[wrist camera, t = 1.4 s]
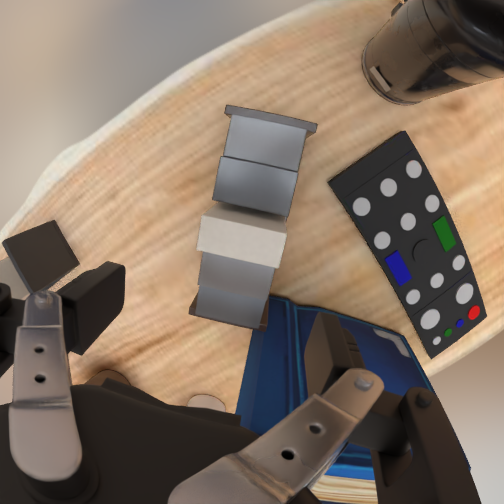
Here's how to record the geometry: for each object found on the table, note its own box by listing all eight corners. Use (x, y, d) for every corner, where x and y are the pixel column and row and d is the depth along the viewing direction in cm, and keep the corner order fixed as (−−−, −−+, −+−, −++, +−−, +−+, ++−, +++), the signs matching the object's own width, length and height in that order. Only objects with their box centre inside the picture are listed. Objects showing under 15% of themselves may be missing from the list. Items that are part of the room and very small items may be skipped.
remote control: (427, 353, 40) (432, 361, 38) (327, 182, 34) (330, 183, 32) (482, 312, 37) (488, 318, 35) (400, 131, 31) (406, 130, 29)
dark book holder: (54, 219, 38) (-19, 249, 24) (79, 263, 40) (13, 308, 26) (17, 257, 41) (-44, 291, 27) (40, 295, 42) (-17, 338, 28)
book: (242, 329, 41) (208, 498, 17) (261, 284, 38) (237, 456, 15) (380, 370, 41) (429, 511, 17) (404, 332, 39) (480, 471, 15)
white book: (230, 191, 34) (201, 214, 21) (283, 203, 34) (287, 233, 21) (226, 213, 35) (195, 250, 22) (277, 225, 35) (278, 269, 22)
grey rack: (239, 118, 33) (221, 100, 21) (306, 132, 33) (321, 121, 21) (208, 276, 39) (182, 324, 27) (268, 290, 39) (264, 343, 27)
